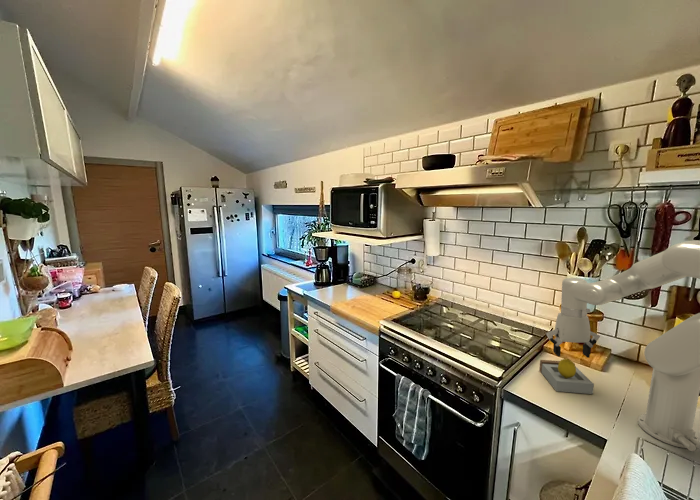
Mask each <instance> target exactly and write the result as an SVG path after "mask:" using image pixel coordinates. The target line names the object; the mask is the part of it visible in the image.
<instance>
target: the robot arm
mask: <svg viewBox="0 0 700 500" xmlns="http://www.w3.org/2000/svg"><path fill="white" fill-rule="evenodd" d="M686 277H689V278H693V279H697V280H698V279H699V280H700V240H696V239H695V240H689V241H688V240H687V241H683V242H678V243H675V244H673V245H670V246H669V247H668V248H666V249H665V250H663V251H660V252H659V253H656V254H654V255H651V256H649V257H646V258H644V259H642V260H639V261H637V262H635V263H634V264H632V265H631V267H630V268H628V269H627V270H624V271H621V272H620V273H617V274H615V275H612V276H610V277H607V278H606V279H605V278H604V279H602V280H598V281H594V282H588V281H587V280H585V279H582V278H577V277H567V278H564V279H563V280H562V284H561V299H560V300H561V305H560V312H559V313H558V314H557V316H556V320H555V326H554V329H552V330H550V331H548V332H546V333H545V335H546V336H547V338H548V340H549V341H550V342H551V343H552V344H553V353H554V354H555V355H556V357H561V350H562V348H561V345H562V344H563V342H564V343H583V344H582V355H583V356H585V357H586V358H589V359H590V357H591V356H590V355H591V353H592V351H591V349H592V348H593V347H594V345H595V344H597V341H598V340H599V339H600V337H601V336H600V335H599V334H597V333H596V332H593V331H591V326H590V324H591V323H590V319H589V316H588V313H591V309H590V308H587V307H588V305H593V306H603V305H605V304H608V303H611V302H613V301H617V300H620V299H621V298H624V297H628V296H630V295H633V294H636V293H638V292H642V291H645V290H650V289H651V290H652V289H656V288H658V287H661V286H664V285H667V284H670V283H673V282H676V281H678V280H681V279H684V278H686ZM553 336H554V338H553ZM591 337H592V338H591ZM644 358H645V361H646V362H647V364H648V365H649V366H650V367H651V368H652V374H651V379H650V383H649V392H648V399H647V406H646V412H645V413H644V414H641V415H638V418H637V423H638V426H639V427H640V428H641V429H642V430H643V431H644V432H645V433H647V434H649V436H652V437H653V438H654V439H657V440H658V441H661V442H663V443H666V444H668V445H671V446H674V447H677V448H682V449H687V450H688V451H691V452H695V451H696V450H697V448H698V449H700V439H699V437H698V436H697V435H696V431H695V430H693V429H694V424H695V418H696V413H697V408H698V402H699V395H700V312H698V313H695V314H694V315H692V316H690V317H688V318H686V319H685V320H683V321H681V322H680V323H678V324H677V325H675V326H674V327H672V328H670V329H669V330H667V331H666V332H664V333H663V334H661V335H659V336H658V337H656V338H655V339H654V340H651V341H650V342H649V343H648V344H647V345H646V346H645V349H644Z"/></svg>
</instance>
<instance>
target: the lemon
mask: <svg viewBox="0 0 700 500" xmlns="http://www.w3.org/2000/svg"><path fill="white" fill-rule="evenodd" d="M559 361H560V362H559V364H558V371H559V373H560V374H561V375H562V376H564V377H565V378H571V377H573V376H574V375H575V373H576V367H577V366H576V364H575V362H574V361H572V360H570V359H569V358H563V359H560V360H559ZM575 366H576V367H575Z"/></svg>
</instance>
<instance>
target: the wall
mask: <svg viewBox="0 0 700 500" xmlns="http://www.w3.org/2000/svg"><path fill="white" fill-rule="evenodd" d="M560 361H561V360H552V359H540V360H539V371H538V372H539V373H541V374H542V364H553V365H558V364H559V362H560Z"/></svg>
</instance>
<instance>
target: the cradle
mask: <svg viewBox="0 0 700 500" xmlns="http://www.w3.org/2000/svg"><path fill="white" fill-rule="evenodd" d="M575 367H576V373H575V375H574V376H573V377H571V378H565V377H564V376H562V375H561V374H560V373H559V371H558V365H553V364H542V373H541V374H542V375H543V376H544V377H545V380H547V382H548V383H549V385H551V387H552V388H553V389H554V390H555V392H564V393H576V394H586V395H594V389H595V388H594V387H595V383H593V382H592V381H591V380H590V379H589V378H588V376H586V374H584V373H583V371H581V370H580V369H579V368H578V367H577V366H576V365H575Z"/></svg>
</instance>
